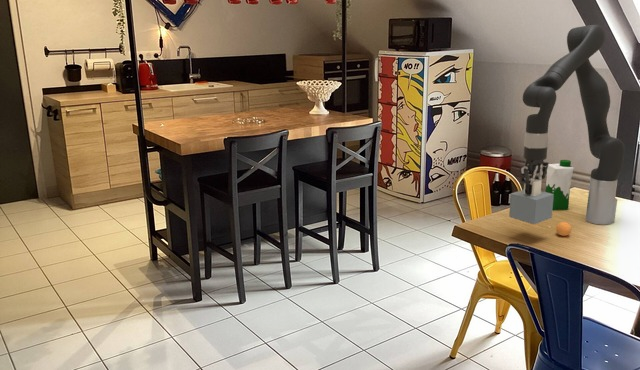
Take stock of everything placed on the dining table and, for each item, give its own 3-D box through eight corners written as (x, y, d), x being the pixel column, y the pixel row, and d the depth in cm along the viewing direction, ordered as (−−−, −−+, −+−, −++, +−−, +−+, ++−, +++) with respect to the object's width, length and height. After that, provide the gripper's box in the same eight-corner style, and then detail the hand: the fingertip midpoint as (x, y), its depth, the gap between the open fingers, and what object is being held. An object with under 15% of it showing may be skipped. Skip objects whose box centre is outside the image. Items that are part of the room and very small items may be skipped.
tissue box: (526, 210, 204) (529, 174, 200) (551, 217, 196) (554, 180, 192) (509, 217, 198) (511, 179, 194) (534, 224, 190) (537, 186, 186)
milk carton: (571, 210, 228) (576, 163, 222) (550, 211, 227) (555, 164, 222) (560, 203, 236) (565, 158, 231) (540, 204, 235) (544, 159, 230)
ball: (566, 232, 204) (567, 219, 203) (573, 237, 199) (574, 224, 198) (553, 233, 204) (554, 220, 202) (559, 238, 199) (561, 225, 197)
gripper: (538, 140, 197) (534, 186, 201) (513, 146, 189) (510, 194, 194) (557, 143, 191) (553, 191, 195) (532, 150, 183) (529, 199, 188)
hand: (532, 192), depth 194 cm, fingers closed on tissue box, 4 cm apart
